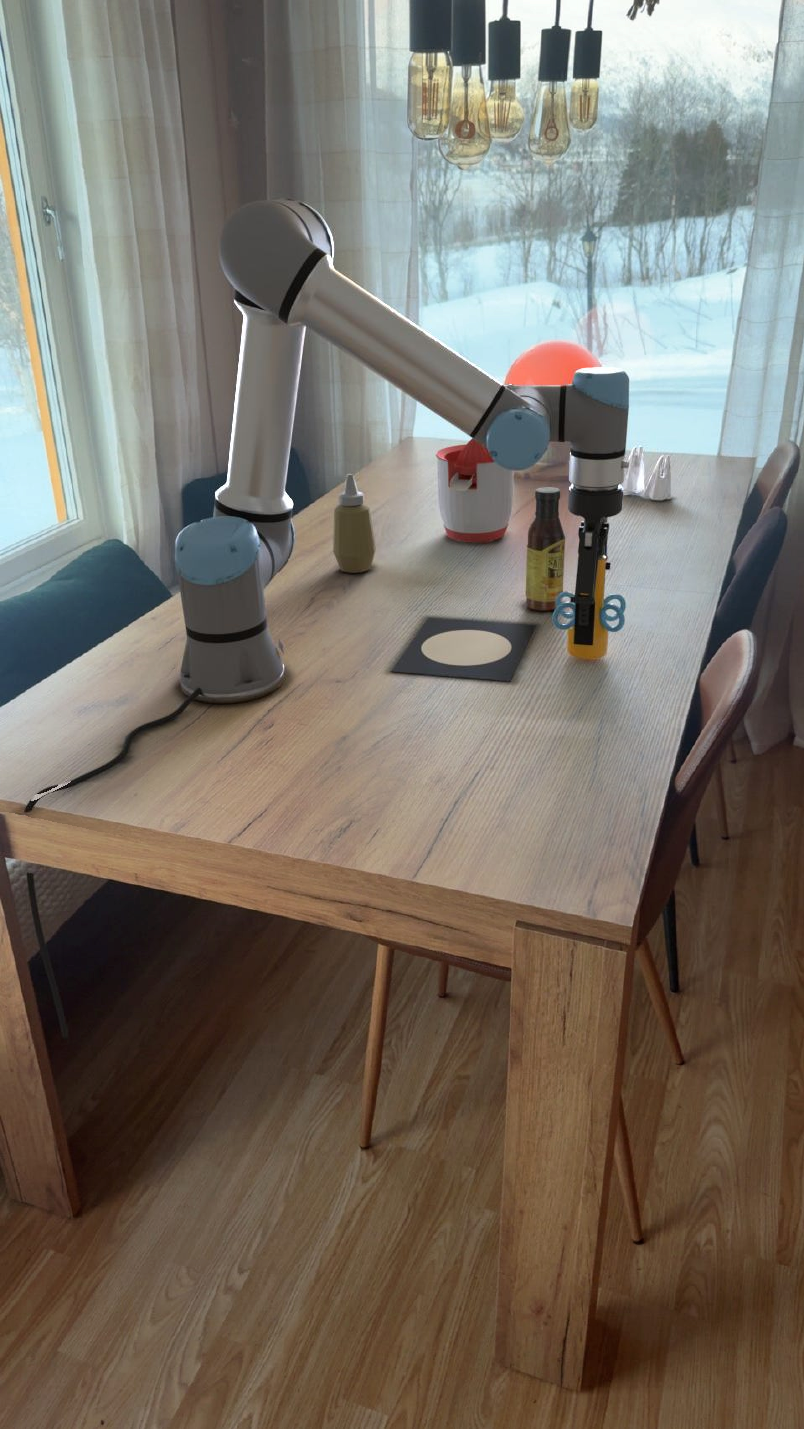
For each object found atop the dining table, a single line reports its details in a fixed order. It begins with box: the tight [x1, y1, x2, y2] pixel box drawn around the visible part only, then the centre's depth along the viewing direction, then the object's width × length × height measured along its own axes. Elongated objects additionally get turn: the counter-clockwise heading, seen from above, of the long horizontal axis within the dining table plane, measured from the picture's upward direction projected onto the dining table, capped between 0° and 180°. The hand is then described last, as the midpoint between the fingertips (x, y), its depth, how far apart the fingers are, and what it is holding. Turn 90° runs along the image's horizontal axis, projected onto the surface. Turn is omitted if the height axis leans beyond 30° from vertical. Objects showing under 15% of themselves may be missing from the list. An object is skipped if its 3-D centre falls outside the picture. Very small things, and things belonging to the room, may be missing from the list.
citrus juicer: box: [435, 437, 514, 544], centre depth 210 cm, size 16×17×20 cm
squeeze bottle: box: [332, 473, 377, 574], centre depth 196 cm, size 8×8×18 cm
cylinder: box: [551, 555, 627, 660], centre depth 156 cm, size 12×10×15 cm
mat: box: [390, 617, 536, 683], centre depth 164 cm, size 22×18×1 cm
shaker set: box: [620, 445, 672, 501], centre depth 234 cm, size 12×4×11 cm, turn 50°
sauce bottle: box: [525, 486, 566, 612], centre depth 175 cm, size 7×6×20 cm
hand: (588, 627), depth 157 cm, fingers closed on cylinder, 12 cm apart
